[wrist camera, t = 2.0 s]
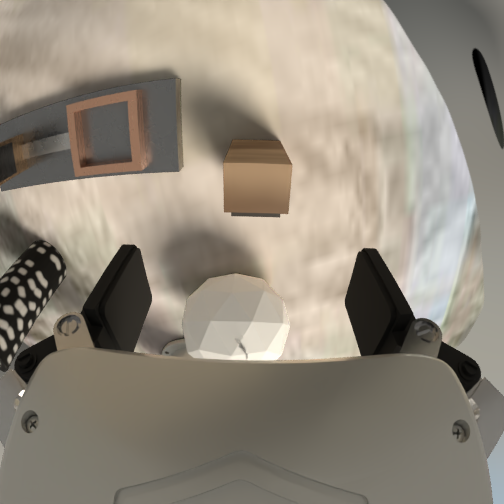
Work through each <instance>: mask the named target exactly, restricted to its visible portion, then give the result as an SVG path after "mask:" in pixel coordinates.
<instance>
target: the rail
mask: <svg viewBox="0 0 504 504" xmlns="http://www.w3.org/2000/svg"><path fill="white" fill-rule="evenodd" d="M183 167H184V166H183V148H182V123H181V79H177V78H174V79H165V80H157V81H149V82H143V83H137V84H131V85H125V86H120V87H115V88H110V89H106V90H101V91H97V92H93V93H89V94H85V95H81V96H78V97H74V98H71V99H67V100H64V101H61V102H58V103H54V104H51V105H49V106H46V107H43V108H40V109H37V110H35V111H32V112H29V113H27V114H24V115H22V116H19V117H17V118H14V119H12V120H10V121H8V122H5V123H3V124H1V125H0V188H1V191H6V190H11V189H16V188H22V187H28V186H33V185H40V184H46V183H53V182H60V181H67V180H75V179H84V178H93V177H103V176H114V175H126V174H140V173H158V172H179V171H180V170H181V169H182V168H183Z"/></svg>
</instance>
